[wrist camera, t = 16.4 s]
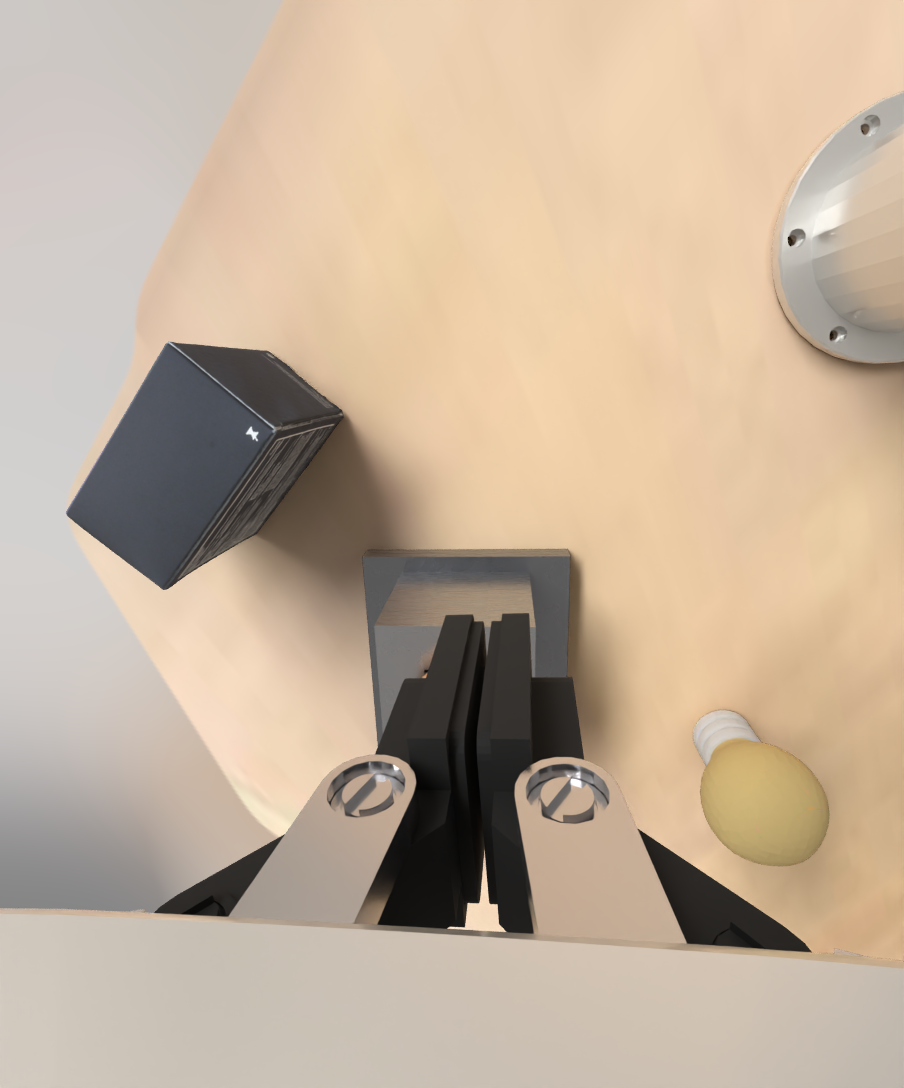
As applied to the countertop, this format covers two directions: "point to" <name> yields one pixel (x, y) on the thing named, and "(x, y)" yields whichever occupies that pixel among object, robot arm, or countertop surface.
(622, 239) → the countertop surface
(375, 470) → the countertop surface
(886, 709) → the countertop surface
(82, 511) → the small box
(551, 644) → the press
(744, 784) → the light bulb
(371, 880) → the robot arm
